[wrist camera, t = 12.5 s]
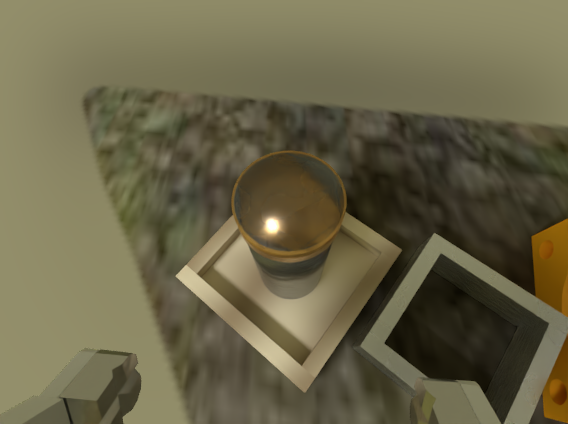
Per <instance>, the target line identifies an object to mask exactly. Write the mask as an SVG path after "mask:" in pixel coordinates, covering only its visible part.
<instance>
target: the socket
mask: <svg viewBox="0 0 568 424" xmlns="http://www.w3.org/2000/svg"><path fill="white" fill-rule="evenodd" d="M430 270H433V271H434V272H436V273H437V274H439V275H440V276H442V277H443V278H445V279H446V280H448V281H449V282H450V283H452V284H453V285H455V286H456V287H458V288H459V289H461V290H462V291H464V292H465V293H467V294H468V295H470V296H471V297H473V298H474V299H476V300H477V301H479V302H480V303H482V304H483V305H485V306H486V307H488V308H489V309H491V310H492V311H494V312H495V313H497V314H498V315H500V316H501V317H503V318H504V319H506V320H507V321H508V322H510V323H511V324H513V325H514V326H516V327H517V329H516V331H515V333H514V336H513V338H512V340H511V342H510V344H509V346H508V348H507V350H506V352H505V354H504V356H503V358H502V360H501V362H500V364H499V366H498V368H497V370H496V372H495V374H494V376H493V378H492V380H491V382H490V384H489V386H488V388H487V390H486V392H485V396H486V398H487V400H488V402H489V403H490V405H491V407H492V408H493V410H494V412H495V414H496V415H497V417H498V419H499V421H500V422H501V424H529V422H530V419H531V417H532V415H533V412H534V410H535V408H536V405H537V403H538V401H539V398H540V396H541V394H542V391H543V389H544V387H545V385H546V382H547V380H548V378H549V375H550V373H551V371H552V368H553V366H554V364H555V361H556V359H557V357H558V354H559V352H560V350H561V347H562V345H563V343H564V341H565V338H566V336H567V334H568V317H566V316H565V315H563V314H562V313H560V312H558V311H557V310H555V309H554V308H552V307H551V306H549V305H547V304H546V303H544V302H543V301H541V300H540V299H538V298H536V297H535V296H533V295H532V294H530V293H528V292H527V291H525V290H524V289H522V288H521V287H519V286H517V285H516V284H514V283H513V282H511V281H510V280H508V279H506V278H505V277H503V276H502V275H500V274H499V273H497V272H495V271H494V270H492V269H491V268H489V267H488V266H486V265H484V264H483V263H481V262H480V261H478V260H476V259H475V258H473V257H472V256H470V255H469V254H467V253H465V252H464V251H462V250H461V249H459V248H458V247H456V246H454V245H453V244H451V243H450V242H448V241H447V240H445V239H443V238H442V237H440V236H439V235H437V234H436V233H434V234H432V235H431V236H430V237H429V238H428V239H427V240H426V241H425V242H423V243H422V244H421V245H420V246H419V247H418V249H417V250H416V252H415V253H414V255H413V256H412V258H411V259H410V261H409V262H408V264H407V265H406V267H405V268H404V270H403V271H402V273H401V274H400V276H399V277H398V279H397V280H396V282H395V283H394V285H393V286H392V288H391V289H390V291H389V292H388V294H387V295H386V297H385V298H384V300H383V301H382V303H381V304H380V306H379V307H378V309H377V310H376V312H375V313H374V315H373V316H372V318H371V319H370V321H369V322H368V324H367V325H366V327H365V328H364V330H363V331H362V333H361V334H360V336H359V337H358V339H357V340H356V342H355V343H354V345H353V346H352V348H353V349H355V350H356V351H357V352H358V353H360V354H361V355H362V356H363V357H365V358H366V359H367V360H368V361H370V362H371V363H372V364H373V365H374V366H376V367H377V368H378V369H379V370H381V371H382V372H383V373H384V374H386V375H387V376H388V377H389V378H391V379H392V380H393V381H394V382H395V383H397V384H398V385H399V386H400V387H402V388H403V389H404V390H405V391H407V392H408V393H409V394H410V395H411V396H413V397H414V396H415V395H417V394H416V391H415V388H414V386H415V382H416V379H417V378H418V377H425V378H428V377H426V376H425V375H424V374H423V373H421V372H420V371H419V370H417V369H416V368H415V367H414V366H412V365H411V364H410V363H409V362H407V361H406V360H405V359H403V358H402V357H401V356H400V355H398V354H397V353H396V352H394V351H393V350H392V349H391V348H389V347H388V346H387V345H385V344H384V342H385V341H386V339H387V338H388V336H389V334H390V333H391V331H392V330H393V328H394V327H395V325H396V323H397V322H398V320H399V319H400V317H401V315H402V314H403V312H404V311H405V309H406V308H407V306H408V304H409V303H410V301H411V300H412V298H413V296H414V295H415V293H416V292H417V290H418V289H419V287H420V285H421V284H422V282H423V281H424V279H425V277H426V276H427V274H428V273H429V271H430Z"/></svg>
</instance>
